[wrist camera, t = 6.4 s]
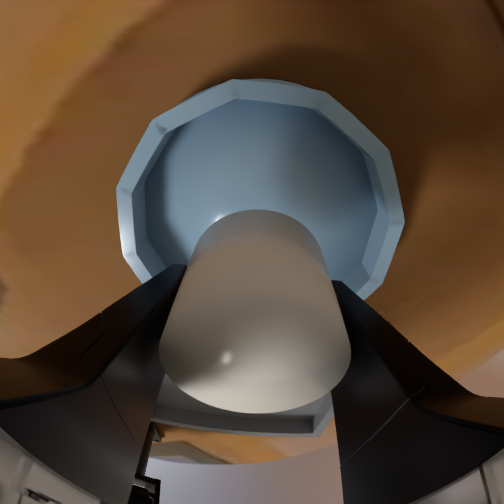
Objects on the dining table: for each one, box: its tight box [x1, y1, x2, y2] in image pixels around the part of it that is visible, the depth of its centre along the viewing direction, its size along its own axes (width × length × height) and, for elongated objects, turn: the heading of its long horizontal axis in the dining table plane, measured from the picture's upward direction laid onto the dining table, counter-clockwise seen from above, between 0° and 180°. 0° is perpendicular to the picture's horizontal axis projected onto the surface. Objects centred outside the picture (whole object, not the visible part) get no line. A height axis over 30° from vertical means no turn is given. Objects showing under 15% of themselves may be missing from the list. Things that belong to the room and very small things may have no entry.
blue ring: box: [116, 79, 405, 300], centre depth 12 cm, size 12×12×2 cm
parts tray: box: [151, 373, 334, 437], centre depth 19 cm, size 10×15×2 cm
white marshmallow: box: [159, 209, 351, 413], centre depth 8 cm, size 4×4×4 cm
